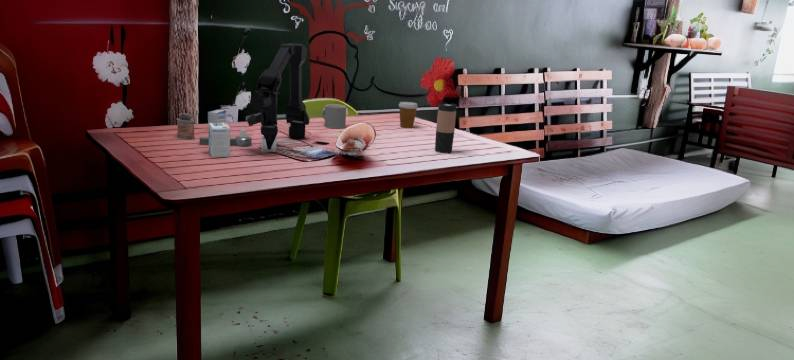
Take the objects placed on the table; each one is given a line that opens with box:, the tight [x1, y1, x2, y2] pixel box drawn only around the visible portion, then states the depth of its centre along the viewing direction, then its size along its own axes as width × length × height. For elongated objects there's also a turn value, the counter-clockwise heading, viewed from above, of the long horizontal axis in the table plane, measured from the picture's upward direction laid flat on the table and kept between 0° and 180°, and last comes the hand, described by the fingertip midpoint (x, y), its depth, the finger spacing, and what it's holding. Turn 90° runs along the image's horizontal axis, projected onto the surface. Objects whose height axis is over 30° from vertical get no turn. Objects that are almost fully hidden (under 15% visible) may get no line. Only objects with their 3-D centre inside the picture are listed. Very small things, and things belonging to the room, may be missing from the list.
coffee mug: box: [321, 103, 347, 130], centre depth 288 cm, size 13×10×10 cm
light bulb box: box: [208, 122, 231, 158], centre depth 222 cm, size 11×7×11 cm, turn 23°
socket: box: [261, 135, 278, 153], centre depth 234 cm, size 6×6×5 cm
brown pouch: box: [176, 112, 196, 140], centre depth 243 cm, size 8×3×10 cm, turn 68°
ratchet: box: [198, 129, 253, 148], centre depth 237 cm, size 20×6×6 cm, turn 102°
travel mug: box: [434, 102, 458, 154], centre depth 251 cm, size 8×8×20 cm
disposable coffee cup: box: [398, 101, 419, 129], centre depth 298 cm, size 10×10×12 cm
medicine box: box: [207, 109, 227, 131], centre depth 260 cm, size 8×4×9 cm, turn 168°
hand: (269, 146), depth 234 cm, fingers open, 8 cm apart
